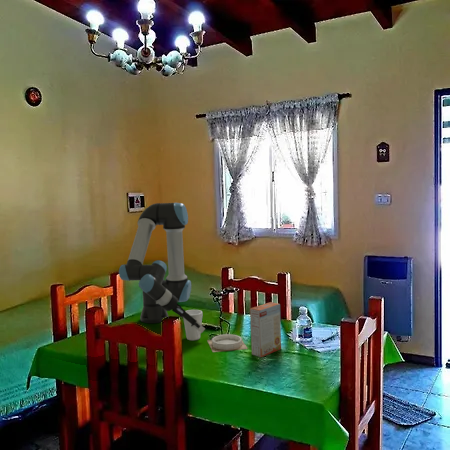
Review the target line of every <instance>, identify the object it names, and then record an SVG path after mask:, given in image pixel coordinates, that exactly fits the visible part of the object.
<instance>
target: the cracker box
mask: <svg viewBox="0 0 450 450" xmlns="http://www.w3.org/2000/svg"><path fill="white" fill-rule="evenodd" d="M249 310H250V312H249V313H250V337H251V338H250V339H251V341H250V343H251V356H252V355H253V356H256V357H259V358H263V357H266V356H269V355H270V354H273V353H274V352H277V351H280V350H281V349H282V332H281V331H282V330H281V329H282V327H281V325H282V323H281V304H280V303H278V302H277V303H276V302H272V301H270V302H267V303H264V304H261V305H258V306H254V307H253V306H252V307H251V308H249Z"/></svg>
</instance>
